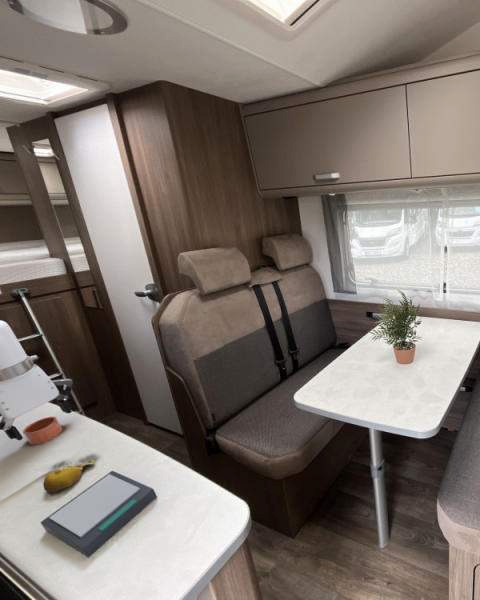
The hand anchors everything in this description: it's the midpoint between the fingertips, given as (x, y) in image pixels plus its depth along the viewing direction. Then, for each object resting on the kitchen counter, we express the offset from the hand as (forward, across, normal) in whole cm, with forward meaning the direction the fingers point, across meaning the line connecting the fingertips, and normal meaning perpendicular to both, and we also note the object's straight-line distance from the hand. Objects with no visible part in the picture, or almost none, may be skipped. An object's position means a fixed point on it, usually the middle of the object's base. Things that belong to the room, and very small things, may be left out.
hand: (44, 424), depth 82 cm
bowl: (+5, +1, 0) cm, 5 cm away
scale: (+5, +8, +39) cm, 40 cm away
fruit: (+5, +5, +21) cm, 22 cm away
